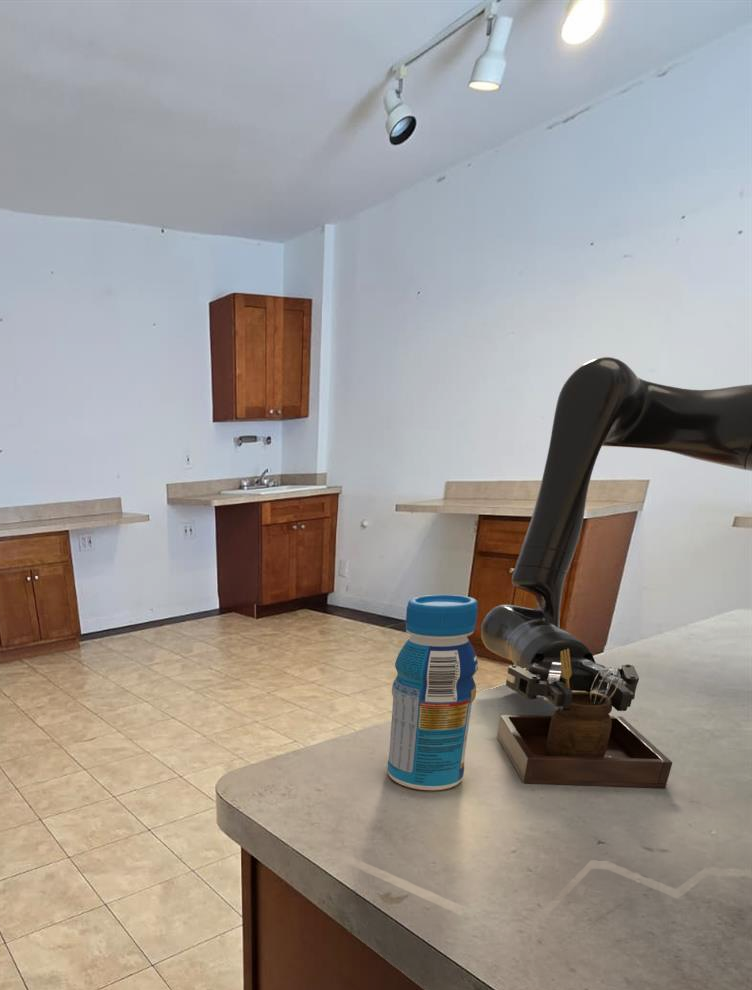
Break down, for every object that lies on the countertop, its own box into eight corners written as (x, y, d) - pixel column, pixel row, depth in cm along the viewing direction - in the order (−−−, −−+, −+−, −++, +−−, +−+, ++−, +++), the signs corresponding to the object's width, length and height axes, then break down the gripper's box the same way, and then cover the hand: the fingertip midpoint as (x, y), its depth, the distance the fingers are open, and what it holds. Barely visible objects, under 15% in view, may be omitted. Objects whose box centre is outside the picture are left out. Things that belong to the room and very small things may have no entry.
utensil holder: (586, 771, 70) (609, 666, 65) (531, 754, 75) (548, 655, 70) (615, 756, 73) (639, 654, 68) (560, 740, 78) (579, 644, 73)
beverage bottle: (370, 777, 74) (382, 603, 65) (410, 755, 78) (426, 590, 70) (439, 800, 68) (461, 611, 59) (478, 775, 72) (503, 596, 64)
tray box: (616, 738, 79) (621, 716, 77) (665, 788, 67) (673, 762, 65) (496, 736, 82) (500, 714, 81) (523, 783, 70) (527, 758, 69)
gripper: (494, 632, 84) (528, 668, 69) (618, 630, 80) (682, 668, 65) (487, 686, 87) (518, 733, 72) (605, 687, 83) (664, 735, 68)
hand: (596, 702), depth 69 cm, fingers closed on utensil holder, 5 cm apart
